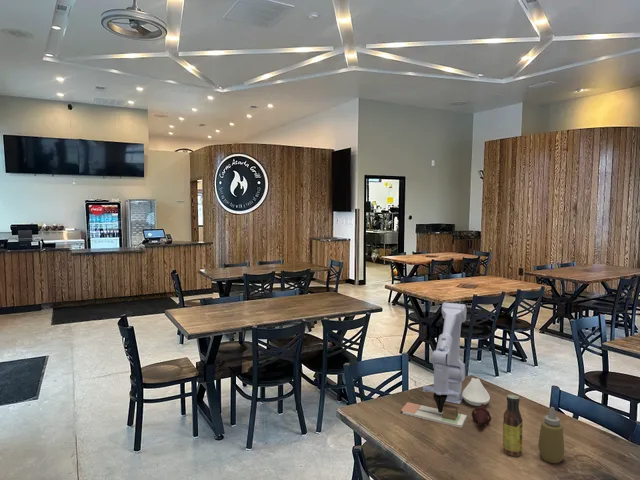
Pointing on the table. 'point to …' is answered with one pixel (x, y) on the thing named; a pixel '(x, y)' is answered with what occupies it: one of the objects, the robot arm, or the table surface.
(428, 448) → the table surface
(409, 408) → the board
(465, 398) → the spoon rest
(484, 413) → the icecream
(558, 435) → the squeeze bottle
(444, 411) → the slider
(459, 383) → the robot arm
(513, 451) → the sauce bottle
